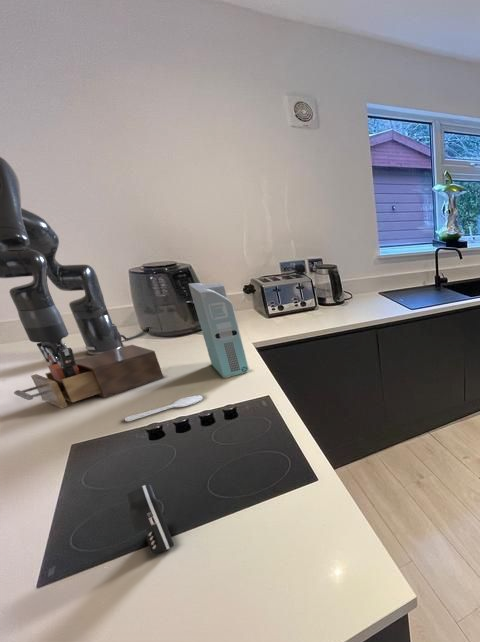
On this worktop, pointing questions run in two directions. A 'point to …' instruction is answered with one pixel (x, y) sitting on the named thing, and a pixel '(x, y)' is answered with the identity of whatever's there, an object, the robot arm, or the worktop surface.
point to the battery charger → (149, 518)
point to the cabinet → (122, 368)
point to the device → (219, 328)
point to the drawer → (63, 388)
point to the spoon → (167, 407)
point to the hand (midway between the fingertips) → (67, 377)
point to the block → (60, 371)
